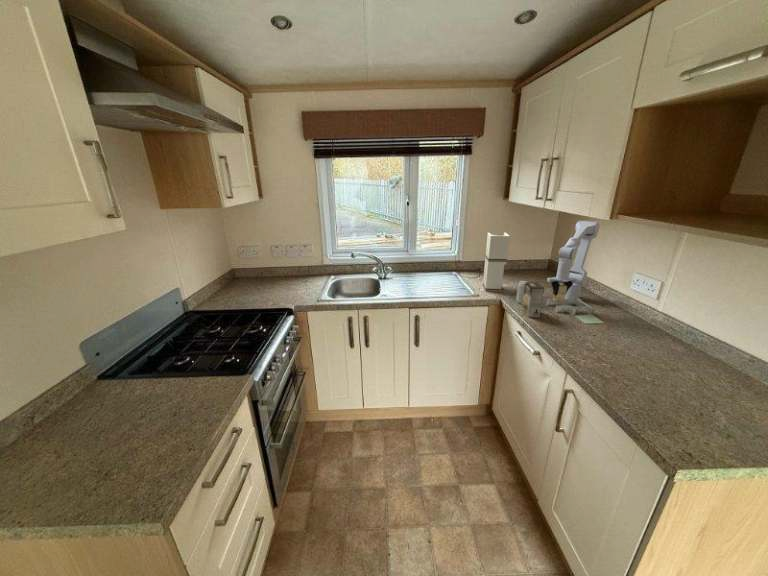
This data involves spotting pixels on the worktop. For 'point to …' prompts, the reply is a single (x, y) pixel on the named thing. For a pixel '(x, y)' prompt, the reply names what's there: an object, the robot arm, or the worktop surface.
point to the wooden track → (568, 308)
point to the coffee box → (532, 299)
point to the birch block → (560, 293)
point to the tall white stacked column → (495, 262)
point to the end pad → (589, 319)
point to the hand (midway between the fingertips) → (559, 294)
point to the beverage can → (520, 292)
